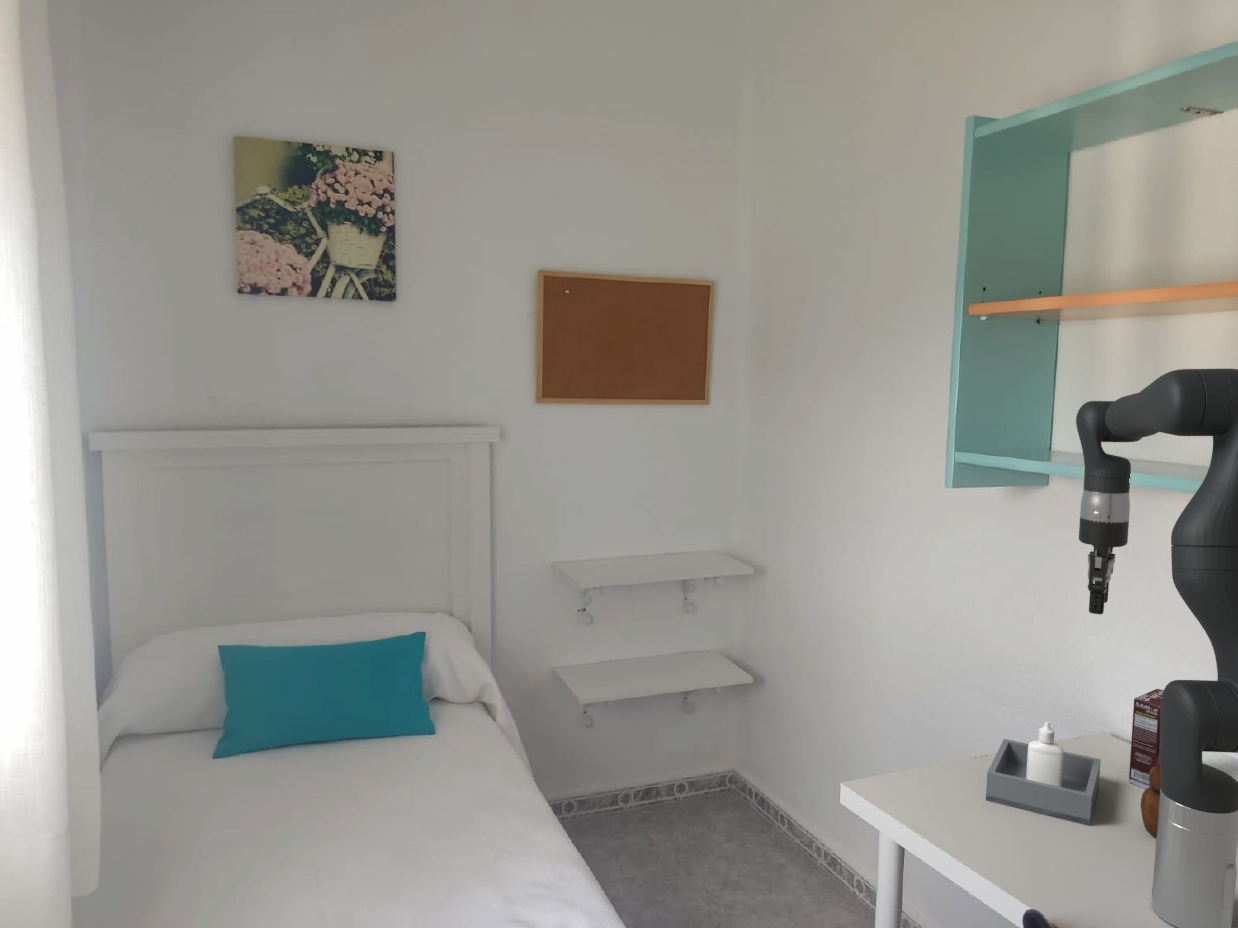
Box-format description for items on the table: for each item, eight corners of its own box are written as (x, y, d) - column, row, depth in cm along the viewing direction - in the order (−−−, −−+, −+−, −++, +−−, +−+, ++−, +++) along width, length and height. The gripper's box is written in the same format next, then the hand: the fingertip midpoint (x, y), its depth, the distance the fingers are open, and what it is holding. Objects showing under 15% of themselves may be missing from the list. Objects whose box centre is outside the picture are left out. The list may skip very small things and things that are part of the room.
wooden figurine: (1190, 847, 142) (1197, 756, 140) (1149, 844, 143) (1156, 753, 141) (1173, 825, 149) (1180, 737, 147) (1134, 822, 150) (1140, 735, 148)
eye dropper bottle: (1051, 797, 156) (1055, 730, 154) (1021, 784, 160) (1024, 719, 159) (1065, 790, 158) (1069, 724, 157) (1035, 778, 163) (1039, 714, 161)
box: (1098, 785, 162) (1100, 759, 161) (1089, 825, 149) (1091, 796, 148) (1002, 764, 171) (1003, 738, 170) (985, 800, 157) (987, 772, 157)
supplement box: (1150, 769, 168) (1156, 687, 166) (1178, 780, 164) (1185, 695, 162) (1126, 782, 163) (1132, 697, 161) (1154, 793, 159) (1161, 706, 157)
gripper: (1126, 525, 150) (1119, 621, 152) (1131, 512, 162) (1125, 600, 164) (1075, 520, 154) (1069, 614, 156) (1084, 508, 166) (1078, 595, 168)
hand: (1098, 607), depth 160 cm, fingers open, 8 cm apart
